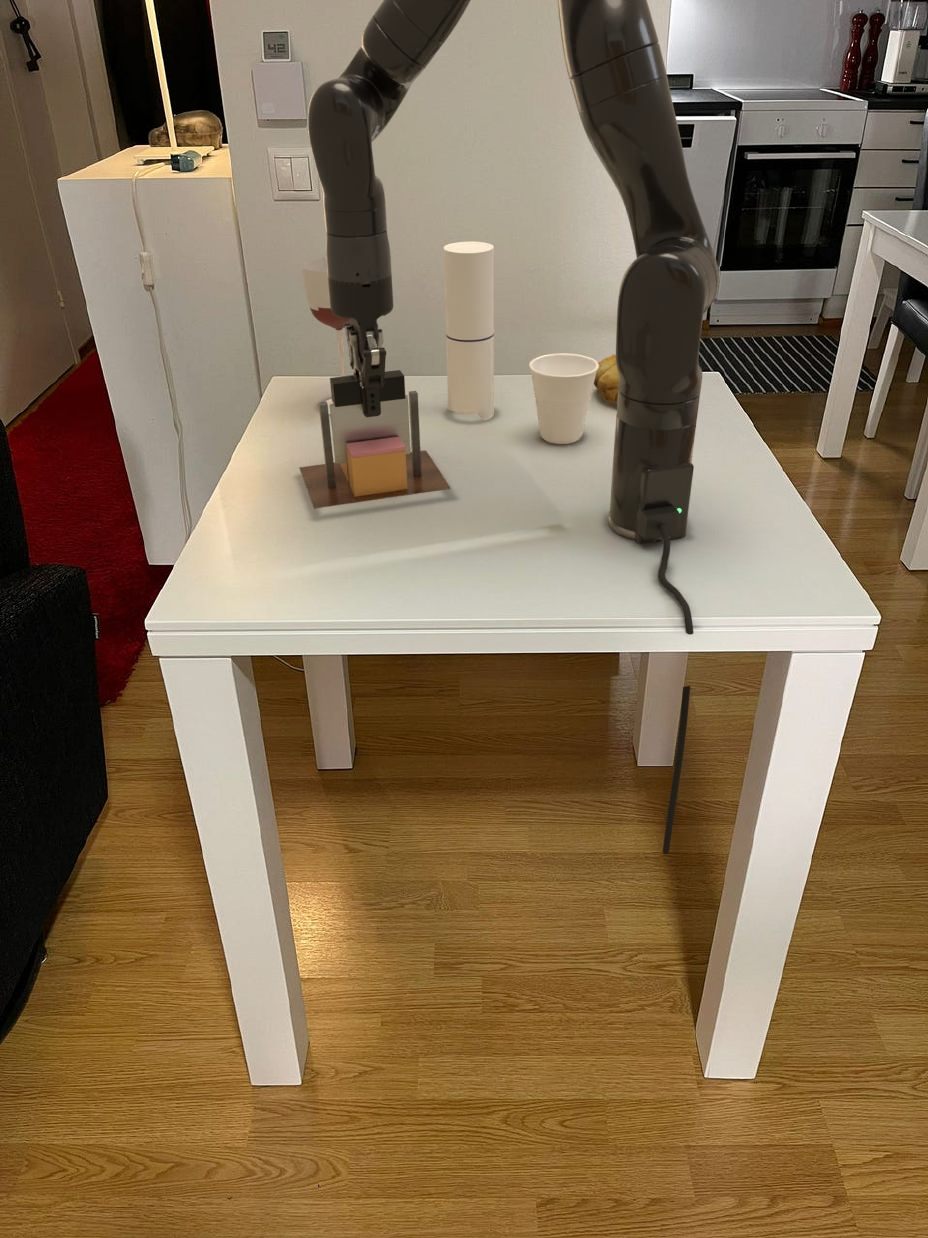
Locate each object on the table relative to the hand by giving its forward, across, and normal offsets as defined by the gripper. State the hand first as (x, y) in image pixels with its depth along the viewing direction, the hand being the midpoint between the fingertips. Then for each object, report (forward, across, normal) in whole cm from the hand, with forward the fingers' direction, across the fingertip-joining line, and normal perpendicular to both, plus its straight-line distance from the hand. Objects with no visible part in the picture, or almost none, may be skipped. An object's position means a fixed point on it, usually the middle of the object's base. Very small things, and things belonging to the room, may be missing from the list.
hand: (369, 410), depth 123 cm
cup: (+11, -9, +30) cm, 33 cm away
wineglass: (+11, -32, +2) cm, 34 cm away
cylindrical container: (+11, -22, +20) cm, 32 cm away
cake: (+10, -1, 0) cm, 10 cm away
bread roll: (+11, -20, +45) cm, 51 cm away
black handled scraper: (+7, 0, 0) cm, 7 cm away
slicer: (+11, -1, 0) cm, 11 cm away
